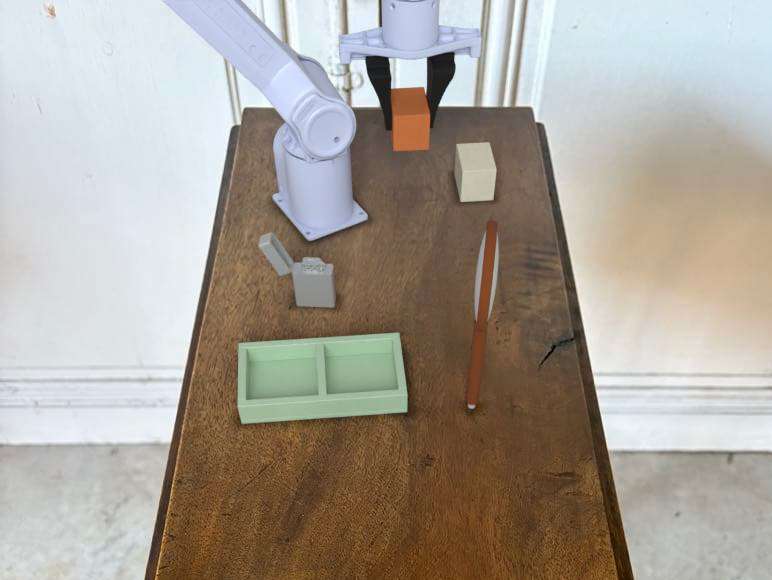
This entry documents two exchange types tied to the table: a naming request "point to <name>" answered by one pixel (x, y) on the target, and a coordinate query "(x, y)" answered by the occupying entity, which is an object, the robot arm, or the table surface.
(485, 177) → the cream rectangular block
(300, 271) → the lighter
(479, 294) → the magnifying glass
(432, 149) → the table surface
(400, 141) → the orange block
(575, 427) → the table surface
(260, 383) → the tray
